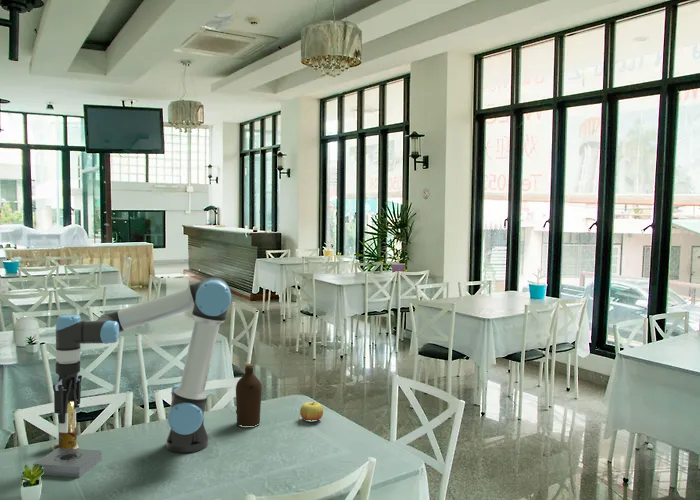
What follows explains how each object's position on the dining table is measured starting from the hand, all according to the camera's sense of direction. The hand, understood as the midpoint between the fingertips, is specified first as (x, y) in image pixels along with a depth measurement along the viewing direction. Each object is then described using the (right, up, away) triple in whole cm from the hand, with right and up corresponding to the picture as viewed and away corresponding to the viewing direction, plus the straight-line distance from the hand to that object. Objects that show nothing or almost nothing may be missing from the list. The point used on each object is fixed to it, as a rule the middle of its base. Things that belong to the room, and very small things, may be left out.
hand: (67, 429), depth 203 cm
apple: (+79, -12, +53) cm, 96 cm away
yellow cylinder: (0, -1, 0) cm, 1 cm away
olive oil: (+53, -12, +46) cm, 71 cm away
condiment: (-9, -12, +18) cm, 23 cm away
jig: (0, -13, +1) cm, 13 cm away
